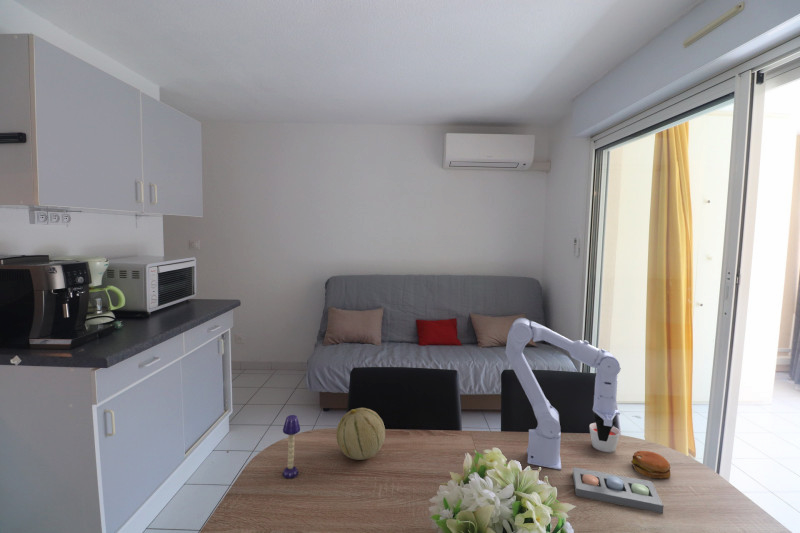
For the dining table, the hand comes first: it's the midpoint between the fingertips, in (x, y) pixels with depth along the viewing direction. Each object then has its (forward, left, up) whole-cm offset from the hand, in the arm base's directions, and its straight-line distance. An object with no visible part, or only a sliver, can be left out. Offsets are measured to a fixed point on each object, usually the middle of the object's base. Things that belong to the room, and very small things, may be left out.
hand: (602, 440), depth 120 cm
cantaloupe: (-69, -18, -10) cm, 72 cm away
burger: (+14, +6, -10) cm, 18 cm away
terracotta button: (-4, -10, -9) cm, 14 cm away
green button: (+8, -10, -9) cm, 16 cm away
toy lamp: (-83, -34, -10) cm, 90 cm away
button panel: (+2, -10, -9) cm, 14 cm away
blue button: (+2, -10, -8) cm, 13 cm away
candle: (+3, +16, -10) cm, 19 cm away
